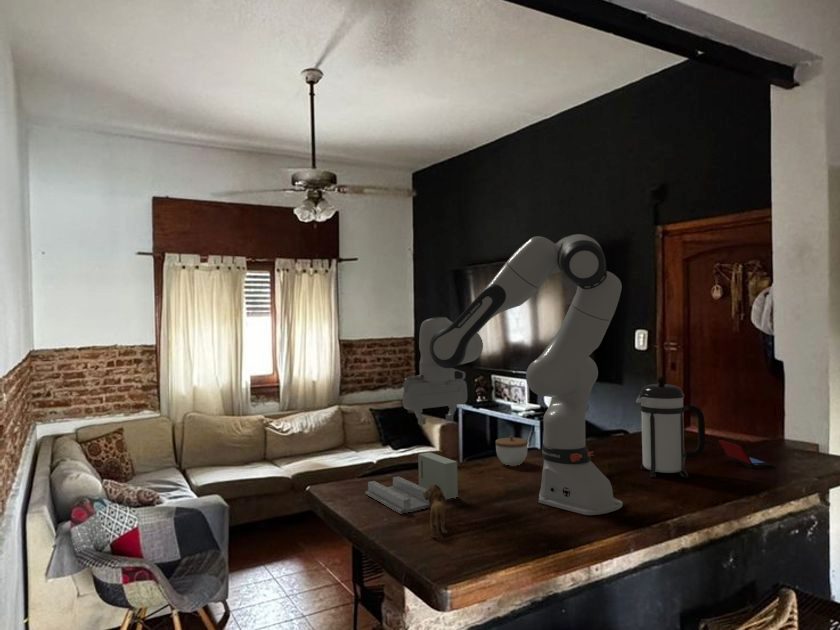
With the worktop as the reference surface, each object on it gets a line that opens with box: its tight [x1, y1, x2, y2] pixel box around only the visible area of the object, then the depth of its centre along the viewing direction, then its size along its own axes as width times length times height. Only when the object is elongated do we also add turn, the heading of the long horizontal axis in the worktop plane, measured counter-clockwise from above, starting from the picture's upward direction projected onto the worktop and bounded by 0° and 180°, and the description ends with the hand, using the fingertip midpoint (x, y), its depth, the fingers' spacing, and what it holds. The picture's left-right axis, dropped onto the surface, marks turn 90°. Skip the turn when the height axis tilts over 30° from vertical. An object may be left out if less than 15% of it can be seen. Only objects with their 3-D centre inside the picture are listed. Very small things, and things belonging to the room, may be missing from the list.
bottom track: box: [364, 476, 430, 515], centre depth 159 cm, size 20×12×4 cm, turn 32°
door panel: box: [417, 451, 459, 500], centre depth 166 cm, size 14×4×10 cm, turn 32°
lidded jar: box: [495, 435, 529, 467], centre depth 196 cm, size 11×11×9 cm
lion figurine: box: [422, 484, 448, 539], centre depth 137 cm, size 15×5×9 cm, turn 8°
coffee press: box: [635, 376, 706, 479], centre depth 181 cm, size 17×16×30 cm
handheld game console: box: [718, 438, 773, 469], centre depth 190 cm, size 12×11×7 cm
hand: (435, 422), depth 166 cm, fingers open, 8 cm apart
